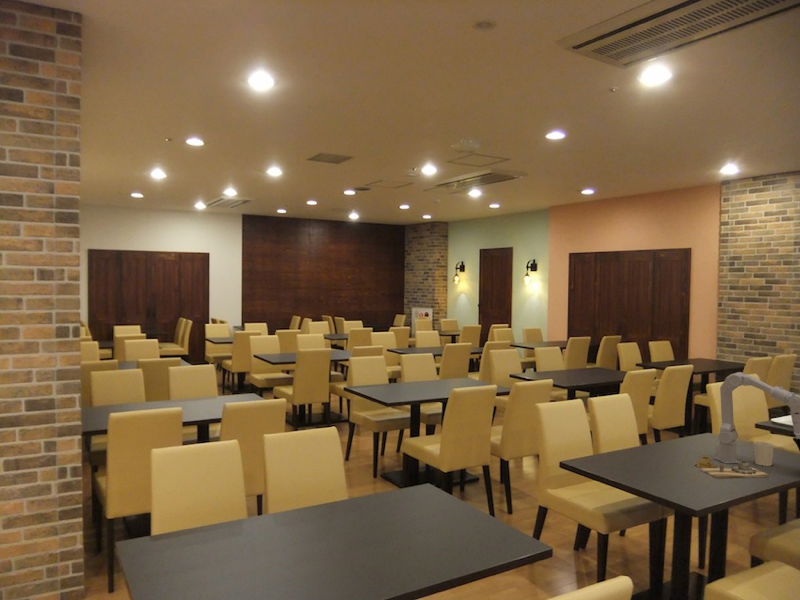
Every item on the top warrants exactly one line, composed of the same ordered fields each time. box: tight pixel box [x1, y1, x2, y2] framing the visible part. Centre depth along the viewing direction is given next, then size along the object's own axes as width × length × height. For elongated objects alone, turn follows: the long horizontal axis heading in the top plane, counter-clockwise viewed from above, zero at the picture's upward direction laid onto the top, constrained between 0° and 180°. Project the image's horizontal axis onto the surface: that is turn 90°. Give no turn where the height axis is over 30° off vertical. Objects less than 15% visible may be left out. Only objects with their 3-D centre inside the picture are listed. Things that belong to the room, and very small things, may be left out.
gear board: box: [699, 459, 770, 479], centre depth 265 cm, size 12×25×6 cm, turn 95°
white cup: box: [753, 441, 774, 467], centre depth 280 cm, size 8×8×10 cm
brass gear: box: [693, 456, 718, 468], centre depth 276 cm, size 10×10×4 cm
